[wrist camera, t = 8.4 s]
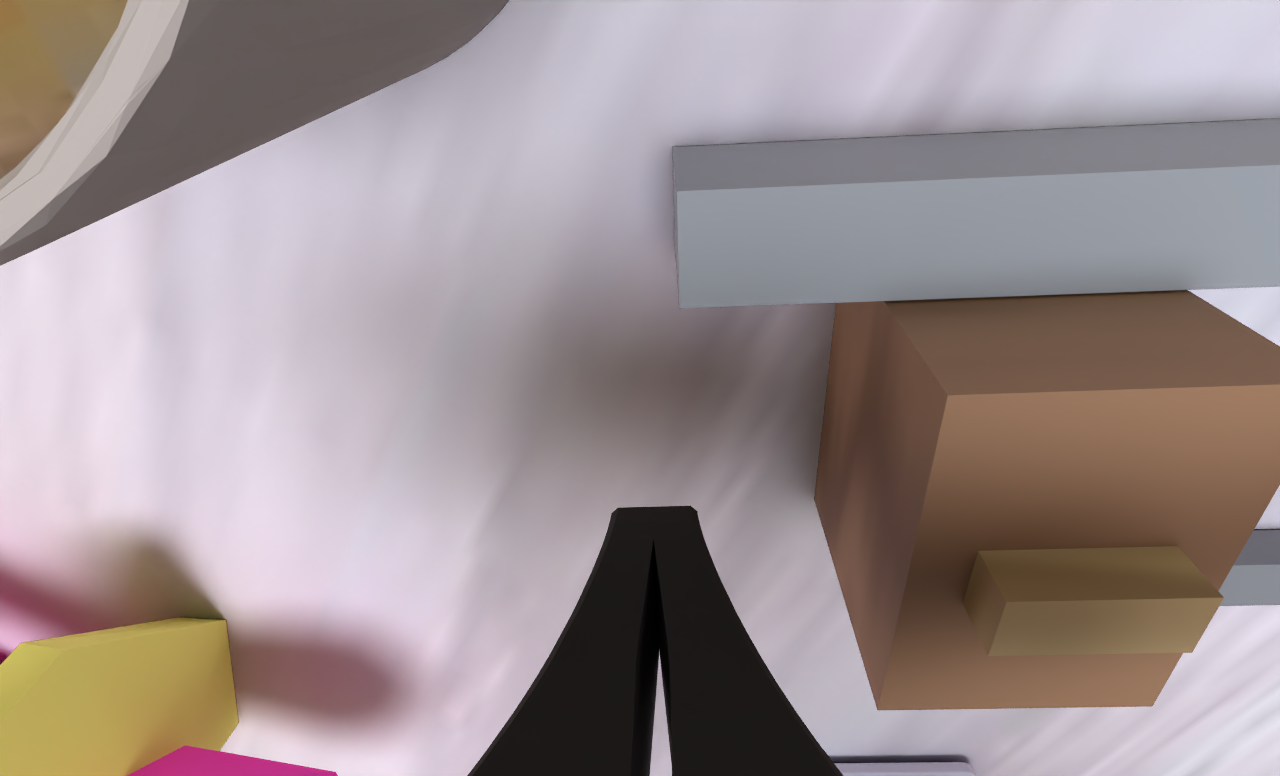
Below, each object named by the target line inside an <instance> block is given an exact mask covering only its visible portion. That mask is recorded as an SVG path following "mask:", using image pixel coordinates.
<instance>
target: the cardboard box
mask: <svg viewBox="0 0 1280 776" xmlns="http://www.w3.org/2000/svg"><path fill="white" fill-rule="evenodd" d="M1279 485H1280V347H1279V346H1278V345H1276V344H1275V343H1273V342H1271V341H1270V340H1268V339H1266V338H1265V337H1263V336H1261V335H1260V334H1258V333H1257V332H1255V331H1253V330H1252V329H1250V328H1248V327H1247V326H1245V325H1243V324H1242V323H1240V322H1239V321H1237V320H1235V319H1234V318H1232V317H1230V316H1229V315H1227V314H1226V313H1224V312H1222V311H1221V310H1219V309H1217V308H1216V307H1214V306H1212V305H1211V304H1209V303H1208V302H1206V301H1204V300H1203V299H1201V298H1199V297H1198V296H1196V295H1194V294H1193V293H1191V292H1190V291H1188V290H1168V291H1141V292H1114V293H1087V294H1060V295H1033V296H1006V297H979V298H952V299H925V300H898V301H871V302H844V303H836V308H835V317H834V326H833V335H832V344H831V353H830V362H829V371H828V380H827V389H826V398H825V407H824V416H823V425H822V434H821V443H820V452H819V461H818V470H817V479H816V488H815V496H814V500H815V503H816V507H817V510H818V513H819V517H820V520H821V523H822V527H823V530H824V533H825V537H826V540H827V543H828V547H829V550H830V553H831V557H832V560H833V563H834V567H835V570H836V573H837V577H838V580H839V583H840V587H841V590H842V593H843V597H844V600H845V603H846V607H847V610H848V613H849V617H850V620H851V623H852V627H853V630H854V633H855V637H856V640H857V643H858V647H859V650H860V653H861V657H862V660H863V663H864V667H865V670H866V673H867V677H868V680H869V683H870V687H871V690H872V693H873V697H874V700H875V703H876V707H877V710H927V709H997V708H1066V707H1136V706H1153V704H1154V702H1155V701H1156V699H1157V697H1158V696H1159V694H1160V692H1161V690H1162V689H1163V687H1164V685H1165V683H1166V682H1167V680H1168V678H1169V676H1170V675H1171V673H1172V671H1173V669H1174V668H1175V666H1176V664H1177V662H1178V661H1179V659H1180V657H1181V655H1182V654H1183V653H1192V652H1193V650H1194V648H1195V646H1196V645H1197V643H1198V641H1199V640H1200V638H1201V636H1202V635H1203V633H1204V631H1205V629H1206V628H1207V626H1208V624H1209V623H1210V621H1211V619H1212V617H1213V616H1214V614H1215V612H1216V611H1217V609H1218V607H1219V605H1220V604H1221V602H1222V600H1223V599H1224V597H1223V596H1222V595H1221V594H1220V593H1219V589H1220V588H1221V586H1222V584H1223V582H1224V581H1225V579H1226V577H1227V575H1228V574H1229V572H1230V570H1231V568H1232V567H1233V565H1234V563H1235V562H1236V560H1237V558H1238V556H1239V555H1240V553H1241V551H1242V549H1243V548H1244V546H1245V544H1246V542H1247V541H1248V539H1249V537H1250V535H1251V534H1252V532H1253V530H1254V528H1255V527H1256V525H1257V523H1258V521H1259V520H1260V518H1261V516H1262V515H1263V513H1264V511H1265V509H1266V508H1267V506H1268V504H1269V502H1270V501H1271V499H1272V497H1273V495H1274V494H1275V492H1276V490H1277V488H1278V487H1279Z"/></svg>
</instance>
